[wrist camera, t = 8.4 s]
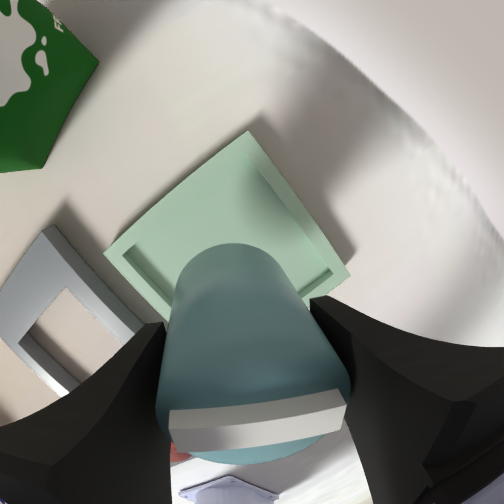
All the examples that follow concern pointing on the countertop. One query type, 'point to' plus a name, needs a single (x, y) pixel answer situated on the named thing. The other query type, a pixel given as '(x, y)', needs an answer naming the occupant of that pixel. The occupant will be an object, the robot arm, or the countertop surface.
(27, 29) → the milk carton
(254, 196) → the tray
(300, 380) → the rotary knob
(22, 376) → the countertop surface
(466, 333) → the countertop surface
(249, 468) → the countertop surface
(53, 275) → the housing
